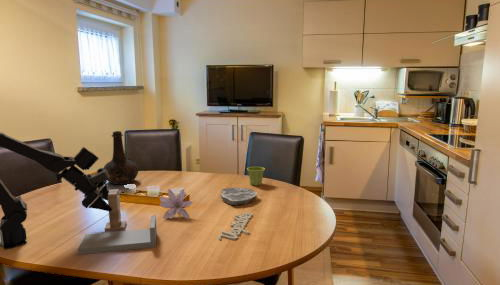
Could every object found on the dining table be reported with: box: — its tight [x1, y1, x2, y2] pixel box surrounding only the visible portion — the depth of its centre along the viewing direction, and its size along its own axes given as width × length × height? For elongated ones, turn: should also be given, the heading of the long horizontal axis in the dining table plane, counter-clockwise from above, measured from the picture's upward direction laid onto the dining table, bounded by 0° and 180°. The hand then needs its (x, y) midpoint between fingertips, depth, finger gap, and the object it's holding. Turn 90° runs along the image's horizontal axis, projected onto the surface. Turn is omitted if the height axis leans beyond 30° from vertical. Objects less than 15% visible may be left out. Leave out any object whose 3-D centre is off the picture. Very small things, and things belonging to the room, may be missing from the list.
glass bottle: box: [102, 130, 139, 185], centre depth 190 cm, size 18×18×28 cm
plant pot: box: [246, 166, 266, 187], centre depth 189 cm, size 9×9×9 cm
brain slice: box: [220, 187, 258, 206], centre depth 167 cm, size 20×17×3 cm
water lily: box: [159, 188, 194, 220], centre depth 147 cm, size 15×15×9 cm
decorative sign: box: [217, 211, 253, 241], centre depth 136 cm, size 26×1×10 cm
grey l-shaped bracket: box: [77, 214, 158, 256], centre depth 121 cm, size 24×11×7 cm, turn 103°
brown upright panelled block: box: [104, 188, 127, 233], centre depth 133 cm, size 6×7×14 cm
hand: (113, 206), depth 133 cm, fingers open, 9 cm apart
